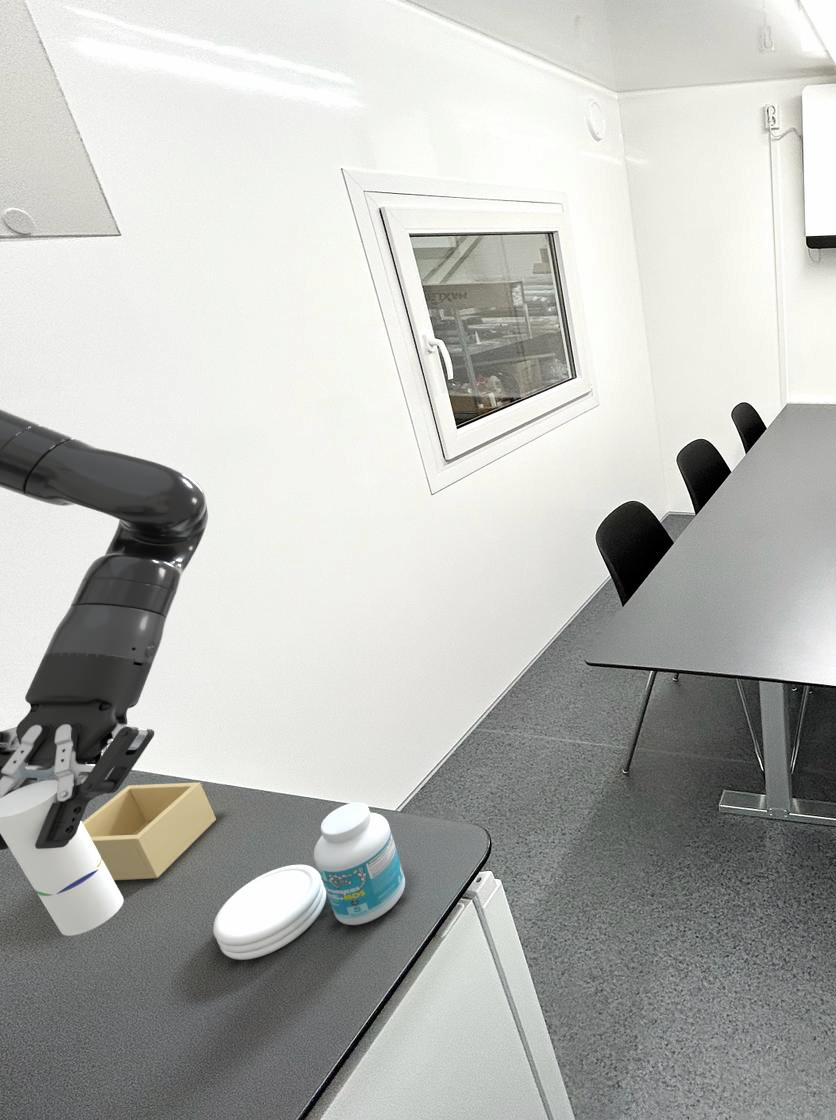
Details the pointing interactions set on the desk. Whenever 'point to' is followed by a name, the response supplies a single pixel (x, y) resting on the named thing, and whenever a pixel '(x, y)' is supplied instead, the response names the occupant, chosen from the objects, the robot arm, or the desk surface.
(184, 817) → the bin
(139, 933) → the desk surface
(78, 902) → the tube
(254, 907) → the white round stack
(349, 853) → the pill bottle
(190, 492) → the robot arm
